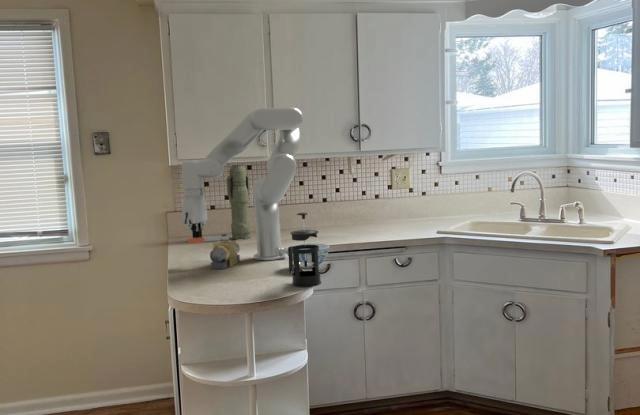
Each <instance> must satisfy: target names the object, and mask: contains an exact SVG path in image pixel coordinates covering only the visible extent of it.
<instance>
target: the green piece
mask: <svg viewBox="0 0 640 415" xmlns="http://www.w3.org/2000/svg"><path fill="white" fill-rule="evenodd" d="M229 168H230V169H229V171H228V172H229V173H228V174H229V175H228V176H227V178H226V190H227V197H228V198H229V203H230V210H231V225H230V229H231V231H230V232H231V236H232V238H233V239H232V238H231V239H232V240H234V239H243V240H247V239H246V238H249V239H251V224H250V221H249V205H248V204H249V196H250V192H251V191H250V177H249V175H248V174H246V168H245V166H244V165H243V164H236V165H235V164H234V165H231V166H230V167H229Z"/></svg>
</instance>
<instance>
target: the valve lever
mask: <svg viewBox="0 0 640 415" xmlns="http://www.w3.org/2000/svg"><path fill="white" fill-rule="evenodd" d="M229 240H230V235H229V234H227V233H221V235H219V236H207V237H206V236H203V235H202V237H193V236H191V237H189V236H188V237H187V244H198V243H200V244H201V243H205V242H211V241H212V242H214V241H215V242H217V241H229Z"/></svg>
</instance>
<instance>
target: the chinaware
mask: <svg viewBox="0 0 640 415" xmlns="http://www.w3.org/2000/svg"><path fill="white" fill-rule="evenodd" d="M298 245H304V243H299V244H293V245H289V246H288V247H290V246H298ZM305 245H317V246H319V251H318V263H319V264H318V268H320V267H319V266H320V265H321V264H322V263H323V262H325V260H326V259H327V257H328V255H329V251H330V245H329V244H327V243H319V242H317V243H315V242H313V243H311V242H310V243H305ZM300 250H303V249H300ZM292 255H293V253H292ZM306 260H307V262H312V256H311V253H307V254H306ZM304 261H305V254H299V262H304ZM301 271H312V268H306V269H301Z"/></svg>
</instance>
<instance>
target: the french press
mask: <svg viewBox="0 0 640 415" xmlns="http://www.w3.org/2000/svg"><path fill="white" fill-rule="evenodd" d="M310 214H311V213H310V212H298V213H297V214H296V215H297V216H301V219H302V224H303V225H302V226H303V229H298V230H293V231H290V233H289V234H290V235H291V240H293V241H296V242H297V241H298V242H302V241H303V244H304V245H298V244H297V245H298V246H292V245H289V246H290V247H289V246H287V248H288V254H287V255H288V272H289V274H291V275H292V282H291V285H292V286H293V287H297V288H311V287H316V286H319V285H322V281H321V272H320V270H319V268H320V267H319V268H318V264H319V263H318V251H319V246H317V245H305V244H306V241H307V240H308V239H309V238H310V237H311V238H318V234H319V231H318V230H315V229H305V227H306V226H305V220H306V216H308V215H310ZM300 249H303V250H300ZM292 253H293V255H292ZM307 253H311V256H312V262H307V260H306V254H307ZM299 254H305V261H304V262H299ZM306 268H312V270H302V269H306Z"/></svg>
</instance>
